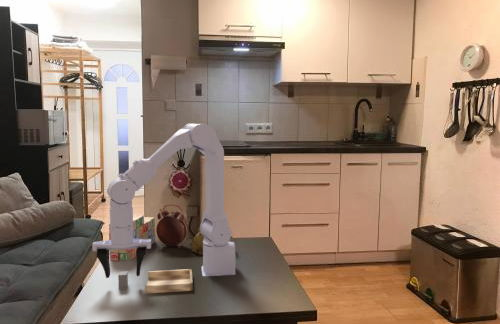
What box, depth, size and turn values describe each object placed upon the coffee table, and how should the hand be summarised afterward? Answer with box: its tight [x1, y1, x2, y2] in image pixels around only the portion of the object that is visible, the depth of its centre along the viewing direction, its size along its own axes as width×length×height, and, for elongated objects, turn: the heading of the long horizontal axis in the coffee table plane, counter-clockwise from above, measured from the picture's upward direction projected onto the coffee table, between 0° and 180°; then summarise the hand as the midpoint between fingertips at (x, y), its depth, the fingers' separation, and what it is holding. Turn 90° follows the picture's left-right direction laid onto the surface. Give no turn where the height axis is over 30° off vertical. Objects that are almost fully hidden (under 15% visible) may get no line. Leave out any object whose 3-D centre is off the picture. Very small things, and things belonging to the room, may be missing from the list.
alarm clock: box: [155, 204, 190, 248], centre depth 141 cm, size 11×5×15 cm, turn 77°
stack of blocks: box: [108, 214, 156, 262], centre depth 136 cm, size 21×6×12 cm, turn 170°
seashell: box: [189, 227, 234, 256], centre depth 137 cm, size 11×14×10 cm
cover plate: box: [117, 270, 129, 290], centre depth 106 cm, size 8×7×5 cm
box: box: [144, 268, 194, 294], centre depth 108 cm, size 12×10×2 cm
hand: (123, 275), depth 106 cm, fingers open, 7 cm apart
